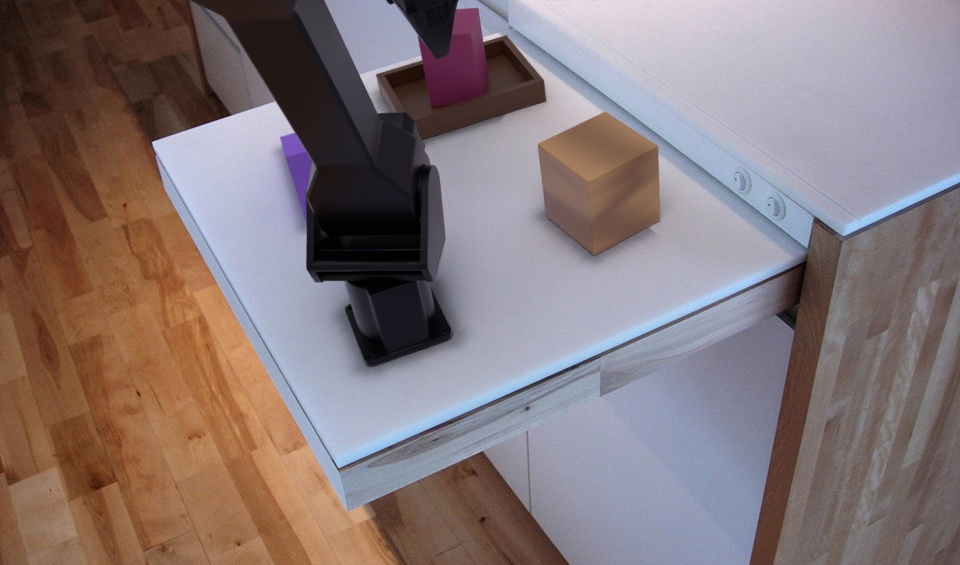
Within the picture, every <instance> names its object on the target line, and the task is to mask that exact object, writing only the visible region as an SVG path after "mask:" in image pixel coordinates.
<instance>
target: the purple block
mask: <svg viewBox="0 0 960 565" xmlns="http://www.w3.org/2000/svg"><path fill="white" fill-rule="evenodd" d="M279 139H280V142H281V145H282V146H281V147H282V150H283V154H284V156H285V159H286V163H287V166H288V170H289V172H290V174H291V178H292V182H293V185H294V188H295V191H296V194H297V197H298V200H299V204H300V206H301V210H302V213H303V216H304V220H306V198H305V192H306V190H307V188H308V180H309V176H310V171H311V165H312V160H311V158H310V157H309V155H308V153H307V152H306V150H305V149H304V147H303V145H302V144H301V142H300V140H299V139H298V137H297V136H296V134H295V132H292V133H289V134H285V135H282V136H280V137H279Z"/></svg>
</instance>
